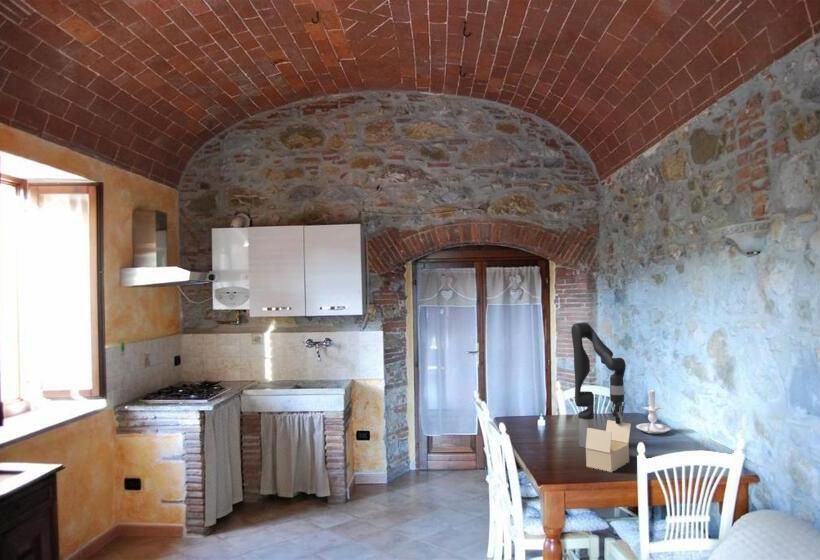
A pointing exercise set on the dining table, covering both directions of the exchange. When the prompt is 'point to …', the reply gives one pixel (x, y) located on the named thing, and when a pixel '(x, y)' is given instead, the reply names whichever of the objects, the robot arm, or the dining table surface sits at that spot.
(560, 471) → the dining table surface
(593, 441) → the front flap
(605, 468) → the carton
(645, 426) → the candlestick
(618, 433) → the back flap
